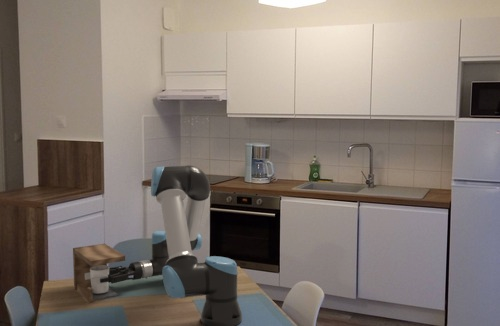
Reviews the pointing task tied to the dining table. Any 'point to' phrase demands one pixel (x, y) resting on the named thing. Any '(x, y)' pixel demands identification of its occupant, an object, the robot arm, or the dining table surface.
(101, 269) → the white cup
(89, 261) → the walnut shelf
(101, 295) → the felt pad
